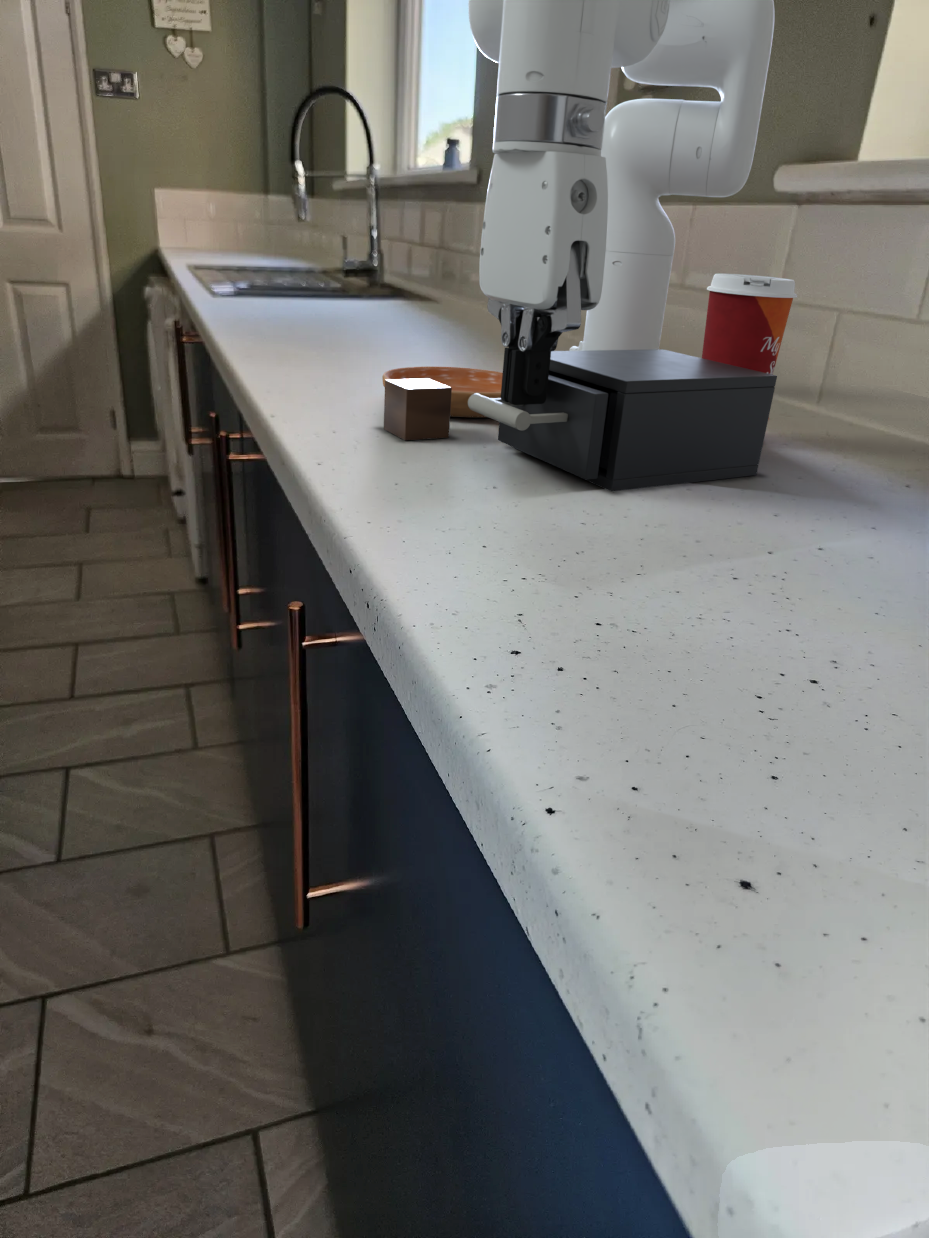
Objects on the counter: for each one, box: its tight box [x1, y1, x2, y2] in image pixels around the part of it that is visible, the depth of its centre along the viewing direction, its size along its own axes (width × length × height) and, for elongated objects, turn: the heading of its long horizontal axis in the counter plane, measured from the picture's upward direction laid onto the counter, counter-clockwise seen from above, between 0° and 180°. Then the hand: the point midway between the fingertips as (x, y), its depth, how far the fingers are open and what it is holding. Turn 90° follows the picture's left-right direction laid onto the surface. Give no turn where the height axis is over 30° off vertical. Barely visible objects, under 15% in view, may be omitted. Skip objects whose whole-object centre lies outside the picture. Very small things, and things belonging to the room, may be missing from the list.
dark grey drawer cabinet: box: [514, 348, 778, 492], centre depth 74 cm, size 16×14×8 cm
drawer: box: [468, 370, 619, 481], centre depth 71 cm, size 20×13×6 cm, turn 120°
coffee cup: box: [701, 273, 798, 375], centre depth 84 cm, size 8×8×15 cm
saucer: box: [381, 365, 503, 418], centre depth 92 cm, size 16×16×3 cm
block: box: [383, 379, 452, 442], centre depth 79 cm, size 4×4×4 cm
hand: (523, 401), depth 67 cm, fingers closed
